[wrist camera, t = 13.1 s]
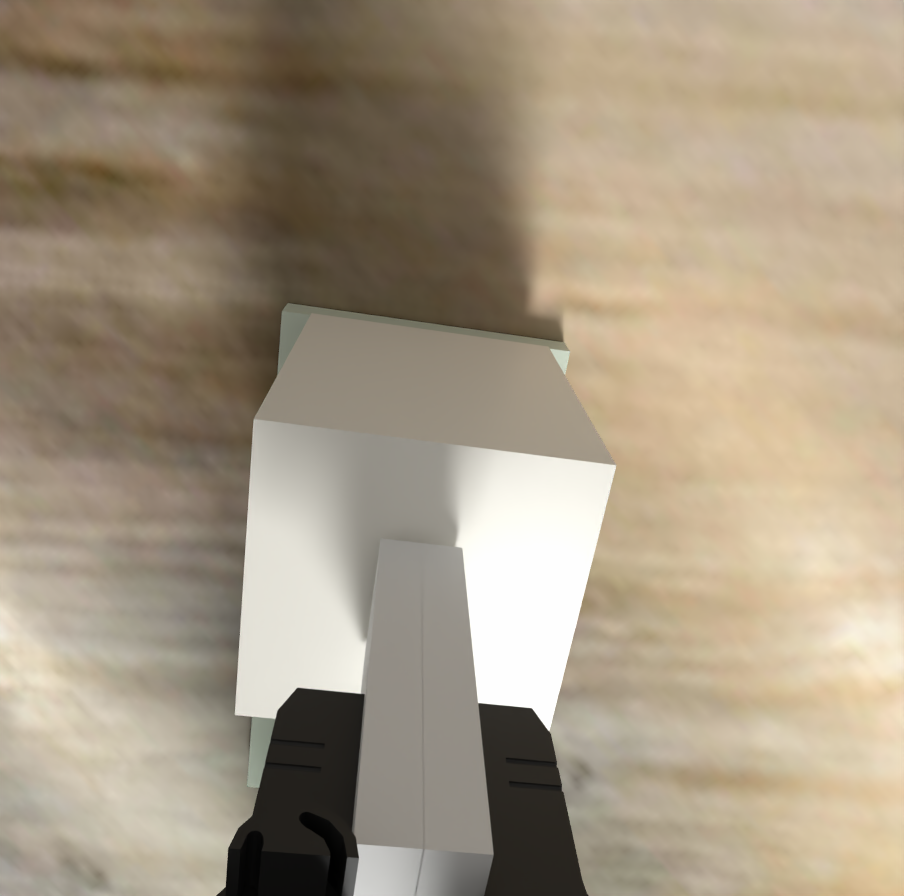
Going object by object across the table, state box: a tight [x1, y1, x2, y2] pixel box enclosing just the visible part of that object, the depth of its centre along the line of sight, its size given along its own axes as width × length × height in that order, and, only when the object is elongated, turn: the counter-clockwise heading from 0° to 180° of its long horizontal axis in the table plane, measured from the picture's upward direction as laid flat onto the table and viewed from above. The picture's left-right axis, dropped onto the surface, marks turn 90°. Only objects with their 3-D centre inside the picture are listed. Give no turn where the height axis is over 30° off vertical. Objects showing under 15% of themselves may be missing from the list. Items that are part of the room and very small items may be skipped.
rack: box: [247, 303, 570, 788], centre depth 23 cm, size 8×17×6 cm, turn 171°
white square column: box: [235, 313, 616, 731], centre depth 19 cm, size 6×6×8 cm
